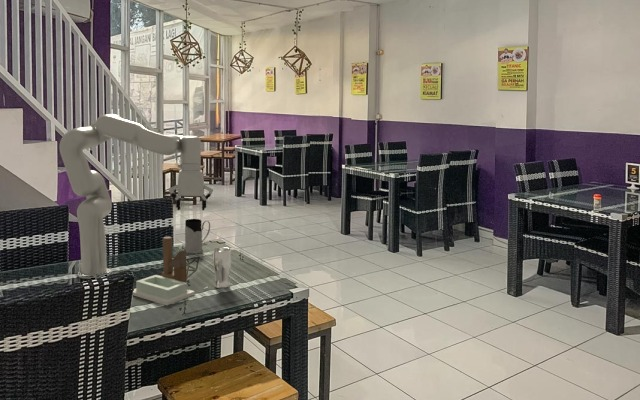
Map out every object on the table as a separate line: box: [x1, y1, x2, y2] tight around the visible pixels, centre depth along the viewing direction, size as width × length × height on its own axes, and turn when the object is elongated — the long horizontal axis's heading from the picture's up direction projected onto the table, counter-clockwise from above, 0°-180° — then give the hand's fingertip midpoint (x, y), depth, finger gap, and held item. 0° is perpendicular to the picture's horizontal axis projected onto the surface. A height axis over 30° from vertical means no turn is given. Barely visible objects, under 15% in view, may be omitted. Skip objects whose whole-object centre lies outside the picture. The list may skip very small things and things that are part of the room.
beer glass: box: [212, 246, 232, 289], centre depth 214 cm, size 7×7×15 cm
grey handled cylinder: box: [184, 218, 211, 254], centre depth 264 cm, size 9×14×15 cm, turn 140°
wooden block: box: [161, 236, 188, 284], centre depth 216 cm, size 4×11×18 cm, turn 57°
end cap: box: [132, 274, 196, 306], centre depth 204 cm, size 20×14×5 cm
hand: (191, 209), depth 220 cm, fingers open, 9 cm apart
